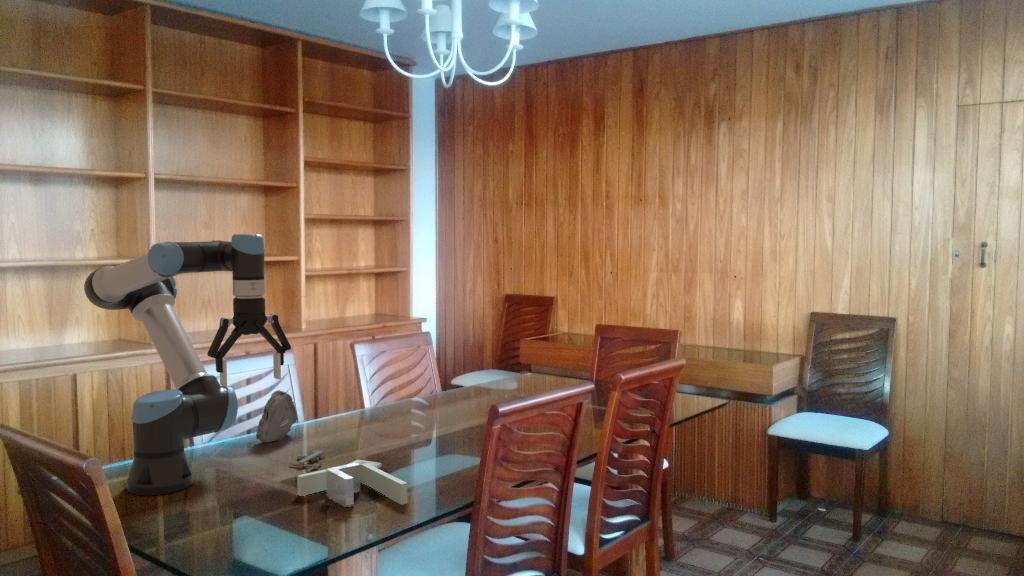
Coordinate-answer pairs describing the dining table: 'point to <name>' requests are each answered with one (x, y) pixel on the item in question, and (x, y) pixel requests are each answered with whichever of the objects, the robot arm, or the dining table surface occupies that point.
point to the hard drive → (374, 464)
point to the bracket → (343, 482)
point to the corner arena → (368, 476)
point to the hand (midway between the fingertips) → (251, 381)
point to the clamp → (314, 457)
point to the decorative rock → (277, 417)
